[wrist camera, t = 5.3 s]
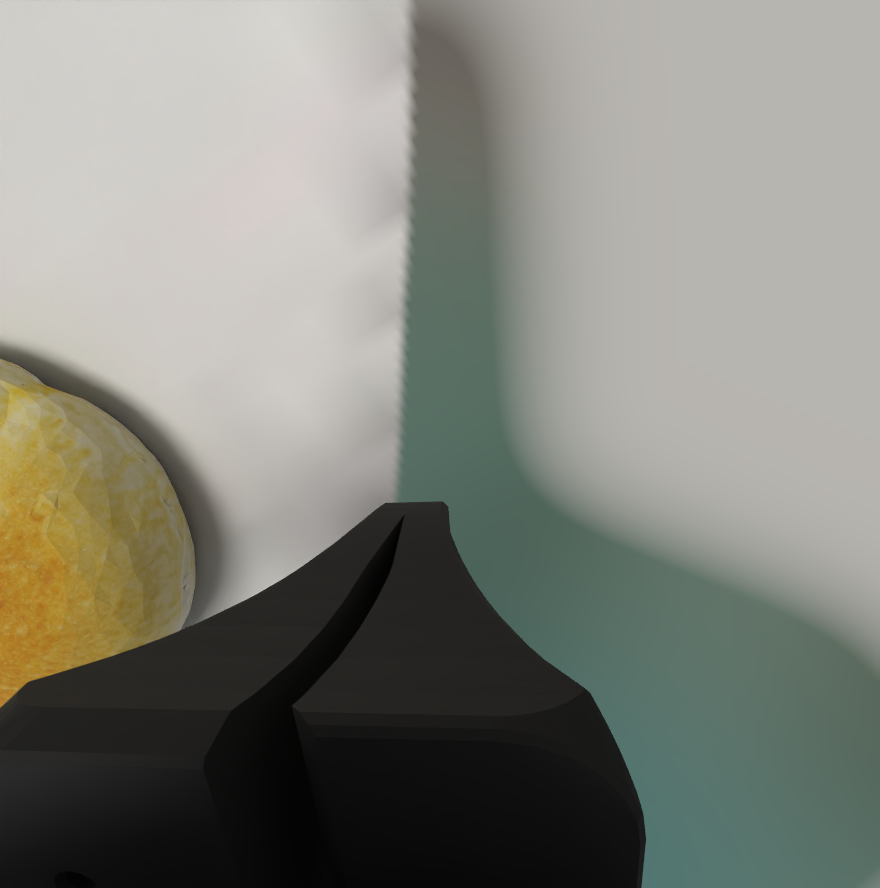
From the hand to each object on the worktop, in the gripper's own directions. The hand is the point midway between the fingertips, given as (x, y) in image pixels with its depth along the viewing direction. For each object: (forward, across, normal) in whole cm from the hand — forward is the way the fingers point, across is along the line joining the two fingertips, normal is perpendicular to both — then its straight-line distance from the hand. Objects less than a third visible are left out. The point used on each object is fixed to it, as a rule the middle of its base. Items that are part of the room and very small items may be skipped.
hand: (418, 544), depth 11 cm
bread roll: (+2, +10, 0) cm, 10 cm away
